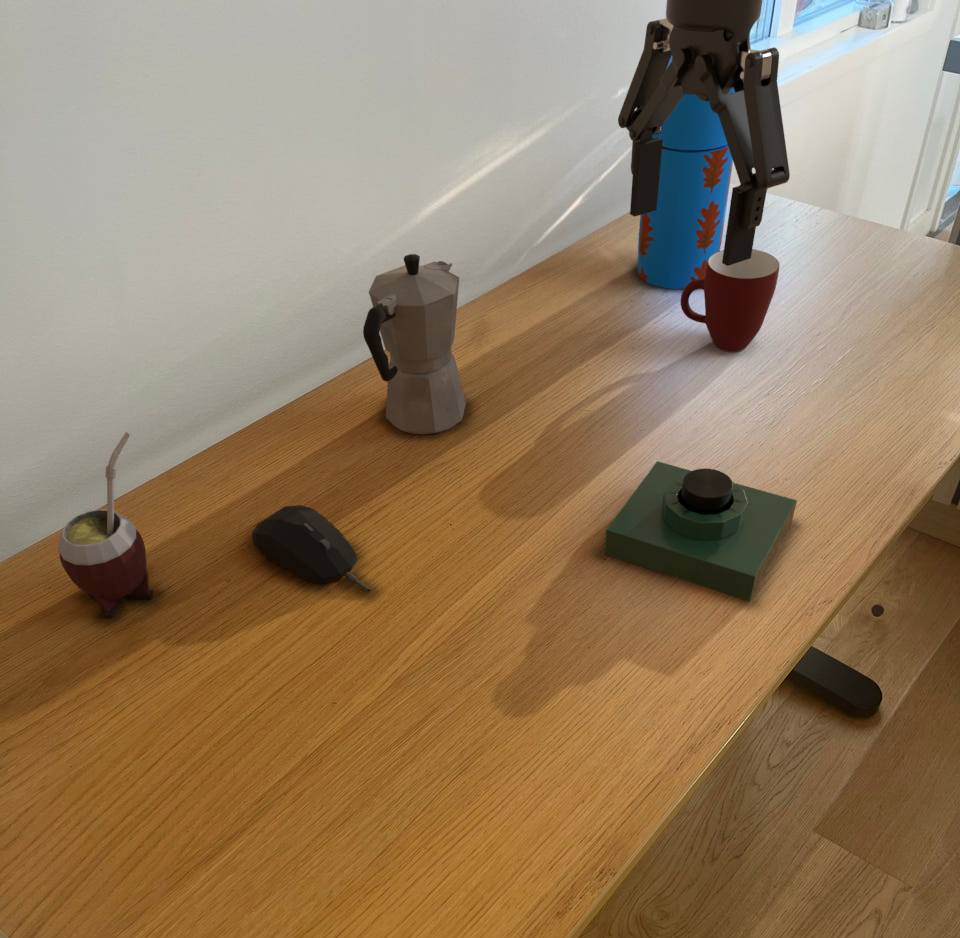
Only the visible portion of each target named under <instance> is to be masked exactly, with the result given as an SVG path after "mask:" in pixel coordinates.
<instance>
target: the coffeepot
mask: <svg viewBox="0 0 960 938" xmlns="http://www.w3.org/2000/svg"><path fill="white" fill-rule="evenodd" d="M420 261H421V256H420V255H418V254H417V253H410V254H409V253H408V254H407V255H404V257H403V262H404V265H402V266H399V267H396V268H394V269H390V270H389V271H385V272H383V273H379V274H376V275H375V277H374V279H373V281H372V284H371V286H370V288H369V290H368V295H369V297H370V300H371V304H372V307H371V308H370V309H369V310H368V312H367V315H366V318H365V321H364V324H363V330H362V334H363V339H364V341H365V343H366V345H367V347H368V350H369V352H370V355H371V357H372V359H373V362H374V364H375V366H376V369H377V371H378V373H379V375H380V377H381V379H382V381H383V382H387V389H386V405H385V406H386V407H385V419H386V420H388V422H389V423H390V424H391V425H392V426H393V427H394V428H396V429H398V430H399V431H402V432H405V433H407V434H408V433H409V434H414V435H431V434H438V433H441V432H444V431H448V430H450V429H452V428H453V427H455V426H456V425H457V424H459V423H460V422H462V421H463V417H464V415H465V409H466V405H467V401H466V397H465V393H464V390H463V386H462V381H461V378H460V377H461V376H460V373H459V370H458V366H457V362H456V357H455V356H454V355H453V352H452V351H453V349H452V347H453V344H454V340H455V335H456V323H457V322H456V321H457V310H458V299H459V298H458V297H459V286H460V277H459V276H458V275H456V274H454V273H453V272H451V268H452V266H453V263H451V262H449V263H447V262H445V261H443V260H439V261H432V262H429V263H427V264H423V265H420ZM384 349H385V350H386V351H387V352H388V353H389V357H388V355H387V353H386V352H385V350H384ZM389 358H390V360H389Z"/></svg>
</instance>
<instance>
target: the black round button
mask: <svg viewBox="0 0 960 938" xmlns="http://www.w3.org/2000/svg"><path fill="white" fill-rule="evenodd" d="M690 471H691V472H689V473H688V474H686V476H685V477H684V479H683V484H682V491H681V499H680V500H681V504H682V505H683V506H684V507H685V508H686V509H687V510H689V511H692V512H696V513H699V514H702V515H705V514H719V513H722V512H724V511H725V510H727V508H728V507H729V504H730V499H731V494H732V488H733V482H734V481H733V480H732V478H731V477H730V476H729V474H728V475H727V474H726V473H725V472H724V471H720V470H718V469H714V468H696V469H694V470H690ZM732 481H733V482H732Z"/></svg>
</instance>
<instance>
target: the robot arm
mask: <svg viewBox="0 0 960 938" xmlns="http://www.w3.org/2000/svg"><path fill="white" fill-rule="evenodd" d="M665 6H666V7H665V18H660V19H656V20H652V21H649V22H647V24H646V29H645V37H644V44H643V45H644V46H643V50H642V53H641V55H640V58H639V60H638V64H637V66H636V69H635V72H634V74H633V77H632V79H631V82H630V85H629V88H628V90H627V92H626V96H625V99H624V101H623V104H622V106H621V109H620V112H619V115H618V117H617V124H618V126H619V127H620V128H621V129H626V130H627V131H628V135H629V138H630V140H631V141H632V145H631V157H630V158H631V160H630V172H631V175H632V179H631V191H630V192H631V193H630V207H629V208H630V209H629V215H631V216H632V217H638V216H639V217H640V215H642V214H645V213H648V212H652V211H655V210H657V200H658V188H659V177H660V166H661V154H662V143H663V139H661V138H658V137H657V138H653V136H654V135H657V134H661V133H662V131H661V132H659V130H661V127H662V125H663V124H664V123H665V121H666V120H667V118H668V117H669V116H670V114H671V113H672V111H673V110H674V109H675V107H676V106H677V105H678V103H679V102H680V100H681V99H682V98H683V96H684V95H685V94H688V95H692V94H695V95H696V96H697V97H698V98H700V99H701V100H704V101H706V102H707V101H709V104H710V107H711V109H712V111H713V112H715V113H717V114H718V116H719V119H720V122H721V125H722V128H723V131H724V134H725V138H726V141H727V144H728V147H729V150H730V153H731V156H732V159H733V165H734V168H735V172H736V175H737V178H738V181H739V183H740V185H737V186H734V187H732V190H731V196H730V204H729V210H728V218H727V224H726V225H727V226H726V232H725V239H724V248H723V250H724V253H723V260H722V263H723V264H725V265H727V266H729V265H732V264H735V263H738V262H741V261H744V260H747V259H750V258H751V254H752V249H754V248H753V247H754V243H755V242H754V241H755V237H756V236H755V234H756V230H757V229H756V228H757V227H759V226H760V225H761V223H762V220H763V214H764V208H765V203H766V196H767V191H768V190H769V189H771V188H773V187H777V186H780V185H784V184H786V183H788V182H789V180H790V176H791V174H790V166H789V160H788V159H789V158H788V152H787V151H788V150H787V144H786V138H785V129H784V121H783V114H782V108H781V100H780V94H779V86H778V75H779V74H778V73H779V63H780V62H779V61H780V52H779V50H778V48H777V47H774V46H773V47H770V48H765V49H761V50H759V49H752V46H751V40H750V39H751V38H750V37H751V36H750V34H751V31H752V28H753V27H754V25H755V24H756V22H757V21H758V20H759V18H760V16H761V14H762V8H763V7H762V6H763V0H666V5H665ZM671 56H672V61H671V63H670V65H669V66H668V64H669V61H670V59H671ZM667 66H668V68H667ZM660 83H661V84H660ZM733 87H734V91H735V93H731V94H728V93H729V92H730V91H731V90H732V88H733ZM652 138H653V139H652ZM753 169H754V171H755V172H754V173H753Z"/></svg>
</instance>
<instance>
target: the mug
mask: <svg viewBox="0 0 960 938" xmlns="http://www.w3.org/2000/svg"><path fill="white" fill-rule="evenodd" d="M723 253H724V249H723V250H720V251H719V252H717V253H715V254H713V255H712V256H710V258H709V259H708V262H707V268H706V274H705V279H696V280H693V281H691V282H690V283H689V284H688V285H687V286H686V287H685V288H684V289H682V292H681V295H680V300H679V301H680V302H679V303H680V308H681V310H682V311H681V312H682V313H683V314H684V315H685V316H686V317H687V318H688V319H689V320H692V321H694V322H696V323H701V324H705V326H706V328H707V331H708V334H709V336H710V338H711V341H712V343H713V345H714V346H715V347H716V348H717V349H718V350H720V351H722V352H729V353H735V352H741V351H743V350H745V349H747V347H748V346H749V345H750V344H751V342H752V341H753V340H754V339H755V338H756V336H757V335H758V333H759V332H760V330H761V328H762V326H763V324H764V321H765V319H766V315H767V313H768V311H769V308H770V305H771V303H772V300H773V298H774V294H775V292H776V288H777V285H778V278H779V272H780V262H779V260H778V259H777V257H775V256H774V255H772V254H771V253H768V252H765V251H762V250H759V249H754V248H752V254H751V258H750V259H747V260H744V261H741V262H738V263H735V264H732V265H729V266H727V265H725V264H723V263H722V260H723ZM697 290H703V295H704V311H705V312H704V313H705V315H704V314H701V313H698V312H696V311H694V310H693V309H692V307H691V306H690V296H691V295H692V293H693V292H694V291H697Z"/></svg>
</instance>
